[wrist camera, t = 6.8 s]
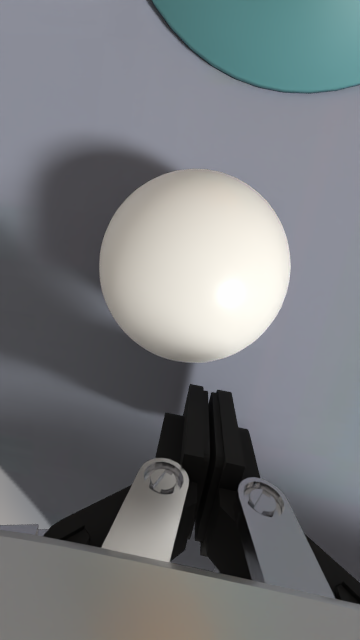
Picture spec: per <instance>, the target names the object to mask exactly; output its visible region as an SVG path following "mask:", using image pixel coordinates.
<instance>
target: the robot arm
mask: <svg viewBox="0 0 360 640" xmlns="http://www.w3.org/2000/svg"><path fill="white" fill-rule="evenodd" d="M194 522H195V541H200V542H201V550H200V555H202V556H207V557H209V559H210V560H211V561H212V562H213V564H214V565H215V568H214V572H212V571H207V570H202V569H198V568H193V567H189V566H184V565H179V564H175V563H170V561H171V560H173V559H174V558H175V557H177V556H178V555H179V554H180V553H182V552H183V551H184V550H185V547H186V543H187V539H190V538H191V534H192V530H193V526H194ZM0 640H360V583H359V582H358V581H357V580H356V579H354V578H353V577H352V576H351V575H350V574H349V573H348V572H347V571H346V570H344V569H343V568H342V567H341V566H340V565H339V564H338V563H337V562H335V561H334V560H333V559H332V558H331V557H330V556H329V555H328V554H326V553H325V552H324V551H323V550H322V549H321V548H320V547H319V546H317V545H316V544H315V543H314V542H313V541H312V540H311V539H310V538H308V537H307V536H306V535H305V534H304V533H303V530H302V528H301V526H300V524H299V522H298V520H297V518H296V516H295V514H294V512H293V510H292V508H291V506H290V504H289V502H288V500H287V498H286V497H285V495H284V493H283V492H282V491H281V490H280V489H279V488H278V487H276V486H275V485H274V484H272V483H271V482H269V481H266V480H264V479H261V478H260V475H259V471H258V467H257V463H256V459H255V455H254V451H253V446H252V442H251V438H250V434H249V431H248V430H247V429H243V428H238V425H237V419H236V414H235V409H234V403H233V398H232V393H231V392H227V391H222V390H217V392H216V393H214V392H212V393H211V396H210V400H209V404H208V391H204V390H203V387H202V386H197V385H192V384H190V386H189V390H188V395H187V400H186V404H185V409H184V414H183V416H180V415H175V414H170V413H165V417H164V421H163V426H162V430H161V435H160V439H159V444H158V449H157V453H156V458H155V459H152V460H149V461H147V462H146V463H144V464H143V465H142V467H141V468H140V470H139V472H138V474H137V476H136V478H135V480H134V482H133V484H132V485H131V486H129V487H127V488H125V489H123V490H121V491H119V492H117V493H115V494H112V495H110V496H108V497H106V498H104V499H102V500H100V501H98V502H96V503H94V504H92V505H90V506H88V507H86V508H84V509H82V510H80V511H78V512H76V513H74V514H72V515H70V516H68V517H66V518H64V519H62V520H60V521H59V522H57V523H56V524H54V525H53V526H51V527H50V529H42V530H41V529H40V530H39V529H38V524H36V525H0Z"/></svg>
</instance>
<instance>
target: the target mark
mask: <svg viewBox="0 0 360 640" xmlns="http://www.w3.org/2000/svg"><path fill="white" fill-rule="evenodd" d="M152 2H153V4H154V5H155V7H156V8H157V10H158V11H159V12H160V14H161V15H162V17H163V18H164V19H165V21H166V22H167V23H168V25H169V26H170V27H171V29H172V30H173V31H174V32H175V33H176V34H177V35H178V36H179V37H180V38H181V39H182V40H183V41H184V42H185V44H186V45H187V46H188V47H189V48H190V49H191V50H193V51H194V52H195V53H196V54H198V55H199V56H200V57H202V58H203V59H204V60H205V61H207V62H208V63H209V64H211V65H212V66H213V67H215V68H217V69H219V70H221V71H222V72H224V73H226V74H228V75H230V76H231V77H233V78H235V79H238V80H240V81H243V82H246V83H248V84H251V85H254V86H256V87H260V88H265V89H270V90H275V91H279V92H288V93H319V92H328V91H337V90H341V89H345V88H349V87H353V86H357V85H360V0H152Z"/></svg>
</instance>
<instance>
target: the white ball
mask: <svg viewBox="0 0 360 640" xmlns="http://www.w3.org/2000/svg"><path fill="white" fill-rule="evenodd" d="M290 268H291V264H290V251H289V246H288V242H287V237H286V235H285V232H284V229H283V226H282V224H281V222H280V220H279V218H278V217H277V215H276V213H275V211H274V210H273V209H272V207H271V206H270V205H269V203H268V202H267V201H266V200H265V199H264V198H263V197H262V196H261V195H260V194H259V193H258V192H257V191H256V190H254V189H253V188H252V187H250V186H249V185H248V184H246V183H244V182H242V181H240V180H239V179H237V178H235V177H233V176H230V175H227V174H225V173H222V172H218V171H213V170H208V169H187V170H178V171H173V172H170V173H166V174H163V175H161V176H159V177H156V178H154V179H152V180H150V181H148V182H147V183H145V184H144V185H142V186H141V187H139V188H137V189H136V190H135V191H134V192H133V193H132V194H131V195H130V196H128V198H127V199H126V200H125V201H124V202H123V203H122V205H121V206H120V207H119V208H118V209H117V211H116V212H115V214H114V216H113V217H112V219H111V221H110V223H109V225H108V228H107V230H106V232H105V235H104V238H103V242H102V245H101V251H100V262H99V273H100V283H101V288H102V292H103V295H104V299H105V301H106V304H107V306H108V308H109V310H110V312H111V314H112V316H113V317H114V319H115V320H116V322H117V323H118V325H119V326H120V327H121V328H122V330H123V331H124V332H125V333H126V334H127V335H128V336H129V337H130V338H131V339H132V340H133V341H135V342H136V343H137V344H138V345H140V346H141V347H143V348H144V349H146V350H147V351H149V352H151V353H153V354H155V355H157V356H160V357H163V358H165V359H169V360H173V361H179V362H187V363H202V362H210V361H214V360H218V359H222V358H225V357H228V356H231V355H233V354H235V353H237V352H239V351H241V350H242V349H244V348H246V347H247V346H249V345H250V344H251V343H253V342H254V341H255V340H257V339H258V338H259V337H260V336H261V335H262V334H263V333H264V332H265V331H266V329H267V328H268V327H269V326H270V324H271V323H272V322H273V320H274V319H275V317H276V316H277V314H278V312H279V310H280V308H281V306H282V304H283V301H284V298H285V296H286V293H287V289H288V284H289V280H290Z"/></svg>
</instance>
